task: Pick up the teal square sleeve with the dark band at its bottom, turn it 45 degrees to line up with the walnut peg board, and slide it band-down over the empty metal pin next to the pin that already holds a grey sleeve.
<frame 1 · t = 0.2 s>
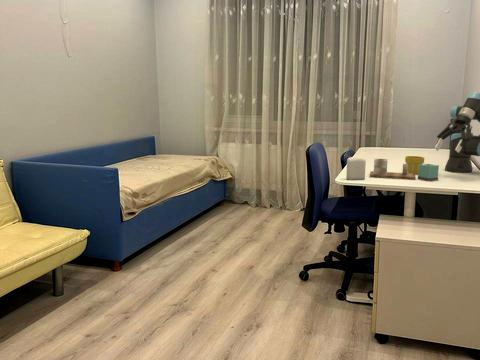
hand: (446, 150, 239), 16 cm above the table, tool tilted 35°, fingers open, 13 cm apart
plant pot: (413, 173, 258), on the table
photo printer: (355, 179, 240), on the table
peg board: (392, 176, 247), on the table
teal sleeve: (427, 179, 238), on the table
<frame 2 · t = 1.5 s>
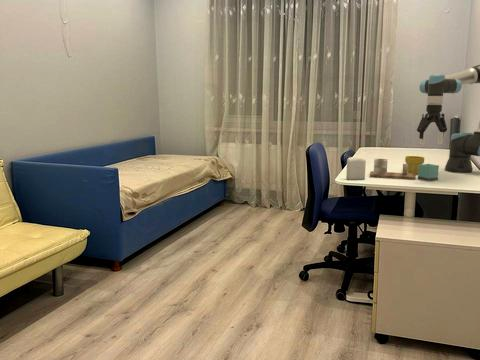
hand: (430, 144, 235), 19 cm above the table, tool pointing down, fingers open, 13 cm apart
nothing on the table moved.
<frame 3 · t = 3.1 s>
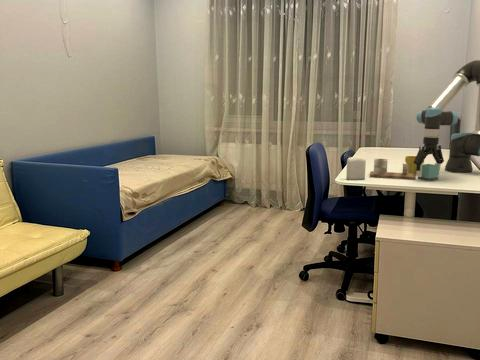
hand: (427, 176, 238), 2 cm above the table, tool pointing down, fingers open, 13 cm apart
nothing on the table moved.
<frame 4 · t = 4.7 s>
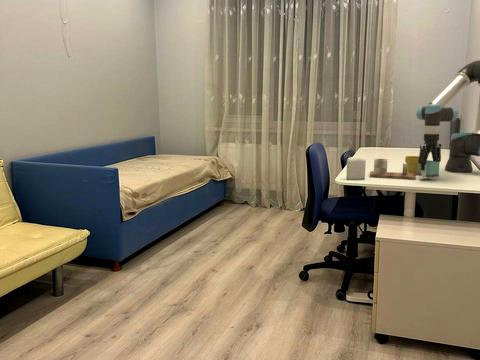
hand: (428, 175, 238), 2 cm above the table, tool pointing down, fingers closed on teal sleeve, 7 cm apart
teal sleeve: (428, 176, 238), point 2 cm above the table, touching gripper
everything else where it was.
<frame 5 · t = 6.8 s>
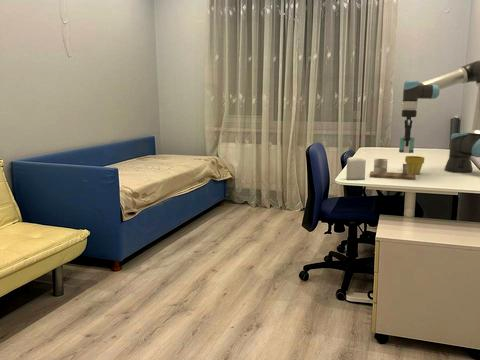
hand: (406, 151, 242), 15 cm above the table, tool pointing down, fingers closed on teal sleeve, 7 cm apart
teal sleeve: (406, 152, 242), point 14 cm above the table, touching gripper
everything else where it was.
when the fingers open (3 cm above the table, at t = 9.1 s): teal sleeve drops 1 cm, resting on peg board.
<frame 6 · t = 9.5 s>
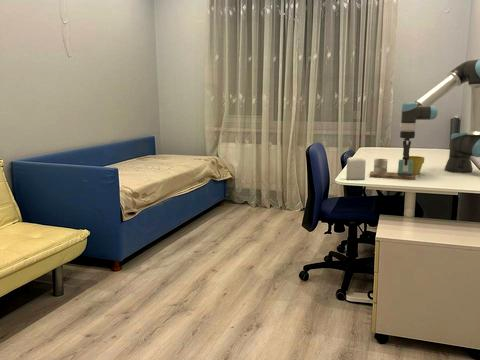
hand: (404, 169, 244), 5 cm above the table, tool pointing down, fingers open, 12 cm apart
teal sleeve: (404, 174, 244), point 1 cm above the table, touching peg board
everything else where it was.
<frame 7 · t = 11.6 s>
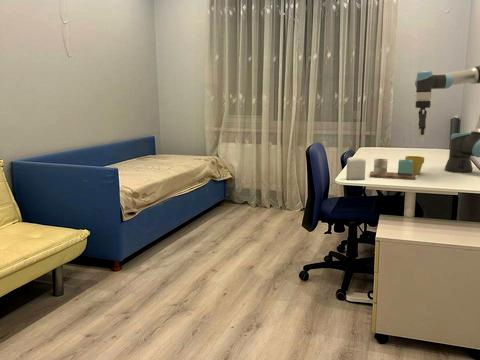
hand: (421, 139, 241), 21 cm above the table, tool pointing down, fingers open, 13 cm apart
nothing on the table moved.
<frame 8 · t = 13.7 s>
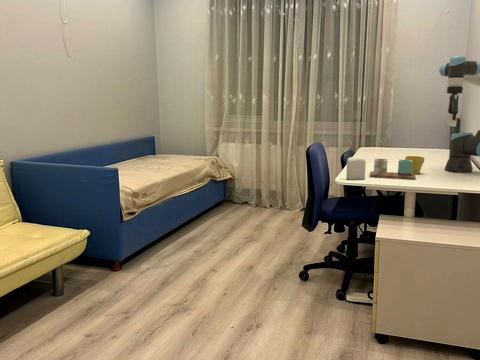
hand: (451, 125, 240), 29 cm above the table, tool pointing down, fingers open, 13 cm apart
nothing on the table moved.
at the end: teal sleeve 0.0 cm from the target spot on the peg board, point 1.5 cm above the peg board's base; teal sleeve tilted 0°; the gripper is holding nothing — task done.
